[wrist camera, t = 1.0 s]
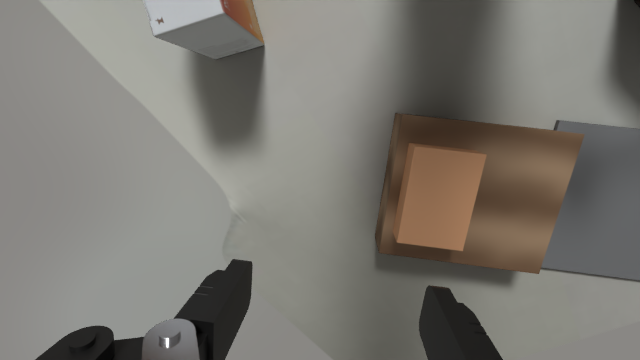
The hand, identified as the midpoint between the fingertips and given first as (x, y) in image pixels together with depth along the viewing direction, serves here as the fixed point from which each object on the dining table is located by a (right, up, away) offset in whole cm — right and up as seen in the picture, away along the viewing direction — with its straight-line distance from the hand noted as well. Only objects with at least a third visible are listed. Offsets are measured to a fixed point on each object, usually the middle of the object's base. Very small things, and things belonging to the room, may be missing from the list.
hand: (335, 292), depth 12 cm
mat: (+30, +2, +20) cm, 36 cm away
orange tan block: (+10, +3, +17) cm, 20 cm away
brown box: (+14, +4, +20) cm, 25 cm away
